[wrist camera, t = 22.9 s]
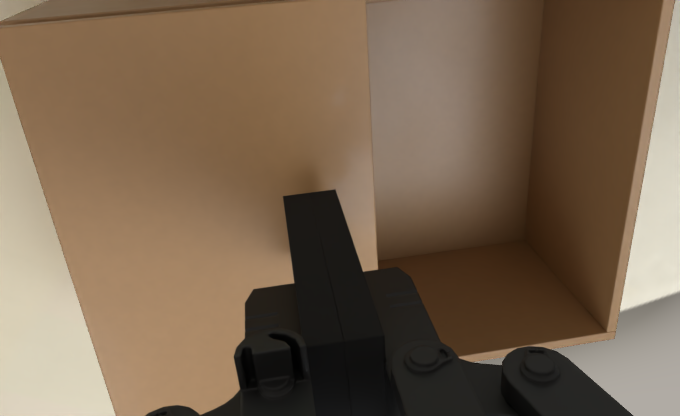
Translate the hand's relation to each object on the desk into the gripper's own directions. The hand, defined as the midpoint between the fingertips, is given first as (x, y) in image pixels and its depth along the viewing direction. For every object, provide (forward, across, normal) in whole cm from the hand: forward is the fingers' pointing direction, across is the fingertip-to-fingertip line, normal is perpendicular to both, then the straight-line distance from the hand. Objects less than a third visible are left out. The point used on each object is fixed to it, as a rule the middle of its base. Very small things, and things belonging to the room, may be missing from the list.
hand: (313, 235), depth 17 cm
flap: (+1, -3, -1) cm, 3 cm away
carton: (+10, +2, -1) cm, 10 cm away
